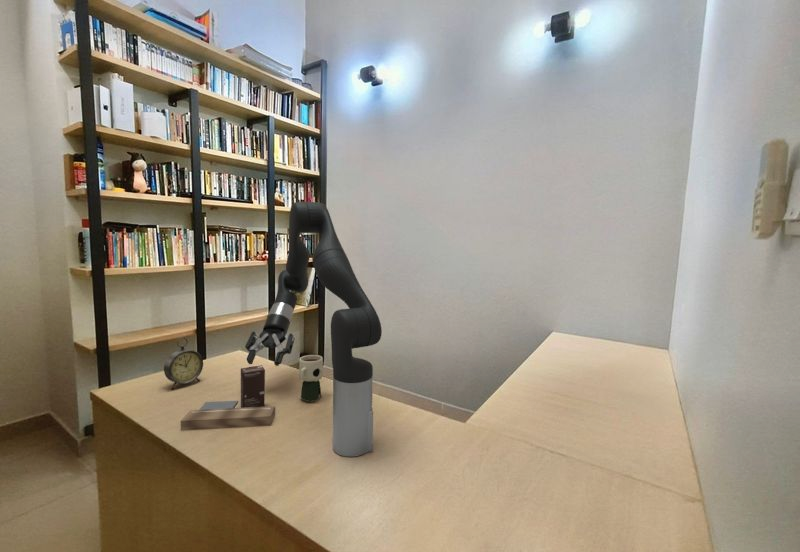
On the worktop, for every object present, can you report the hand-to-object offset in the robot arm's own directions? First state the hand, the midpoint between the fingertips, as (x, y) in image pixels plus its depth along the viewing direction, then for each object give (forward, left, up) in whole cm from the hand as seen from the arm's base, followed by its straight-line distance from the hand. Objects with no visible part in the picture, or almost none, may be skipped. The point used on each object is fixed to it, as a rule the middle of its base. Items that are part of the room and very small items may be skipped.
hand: (262, 364), depth 109 cm
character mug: (-14, +1, -12) cm, 18 cm away
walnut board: (+6, +13, -11) cm, 18 cm away
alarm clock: (+29, -15, -12) cm, 35 cm away
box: (+2, +6, -12) cm, 13 cm away
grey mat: (+12, +5, -11) cm, 17 cm away
